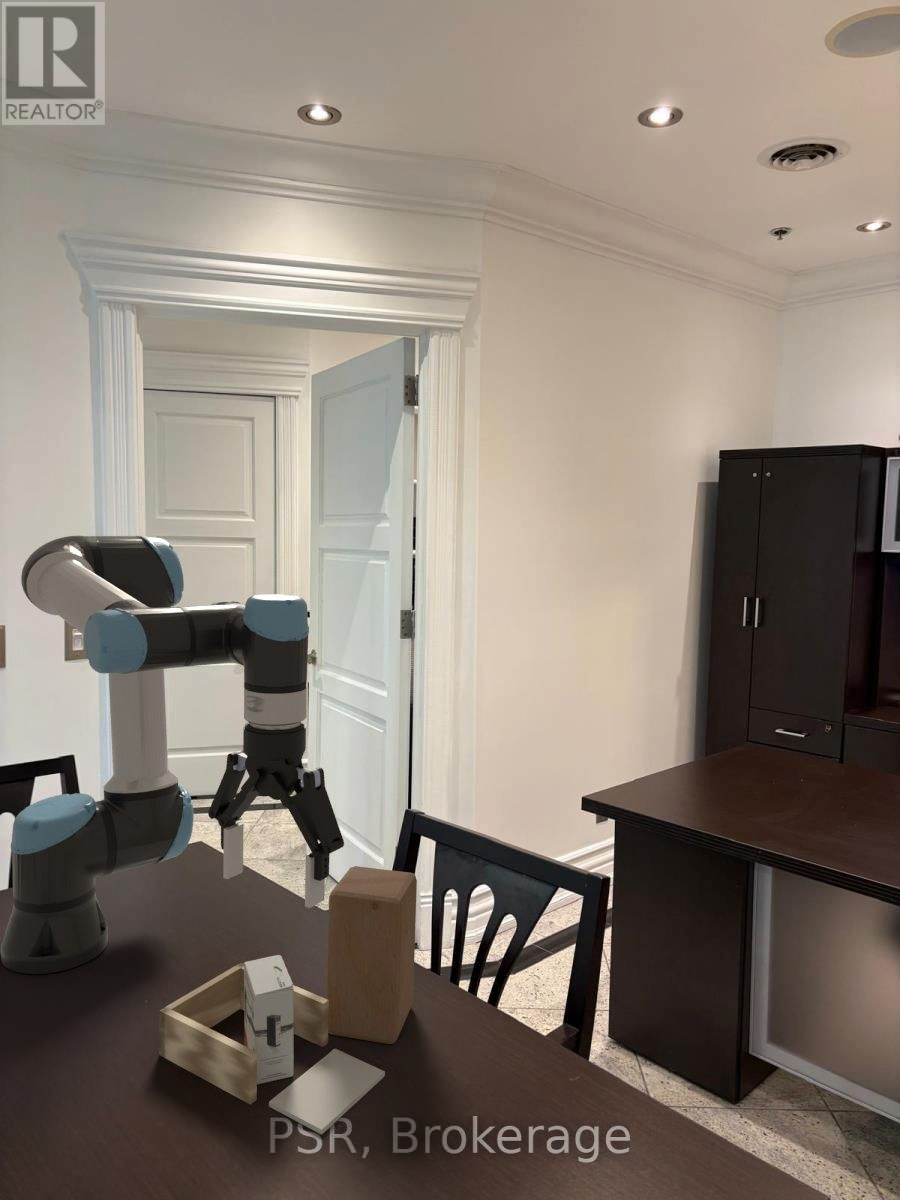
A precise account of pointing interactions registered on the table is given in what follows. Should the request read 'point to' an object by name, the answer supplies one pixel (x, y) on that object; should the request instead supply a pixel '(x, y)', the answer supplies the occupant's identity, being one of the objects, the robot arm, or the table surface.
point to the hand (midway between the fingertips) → (272, 889)
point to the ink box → (269, 1017)
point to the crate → (216, 1054)
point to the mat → (327, 1090)
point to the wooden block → (371, 953)
